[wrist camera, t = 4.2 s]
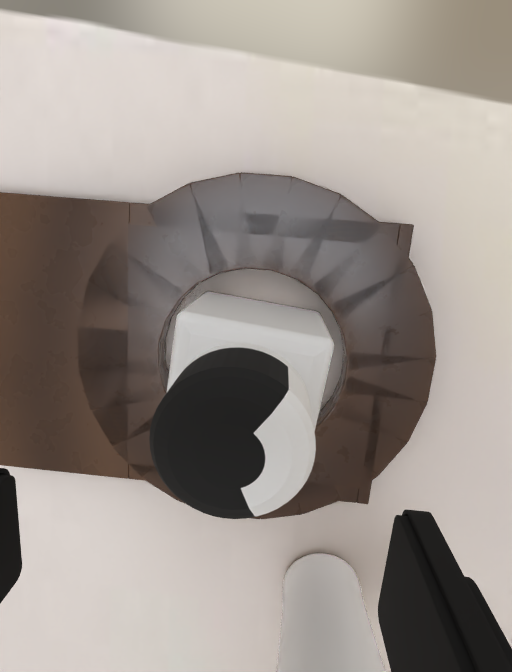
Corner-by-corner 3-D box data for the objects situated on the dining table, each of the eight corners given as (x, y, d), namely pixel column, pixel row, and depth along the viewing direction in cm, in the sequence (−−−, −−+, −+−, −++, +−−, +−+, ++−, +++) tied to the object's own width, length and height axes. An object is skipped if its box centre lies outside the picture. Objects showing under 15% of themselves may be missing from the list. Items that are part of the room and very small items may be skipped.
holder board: (457, 192, 23) (468, 189, 22) (396, 519, 28) (402, 535, 27) (-11, 156, 24) (-30, 152, 23) (13, 478, 29) (-1, 491, 28)
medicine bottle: (188, 398, 27) (117, 525, 15) (204, 289, 25) (138, 339, 14) (298, 419, 27) (310, 562, 15) (322, 311, 25) (355, 380, 13)
